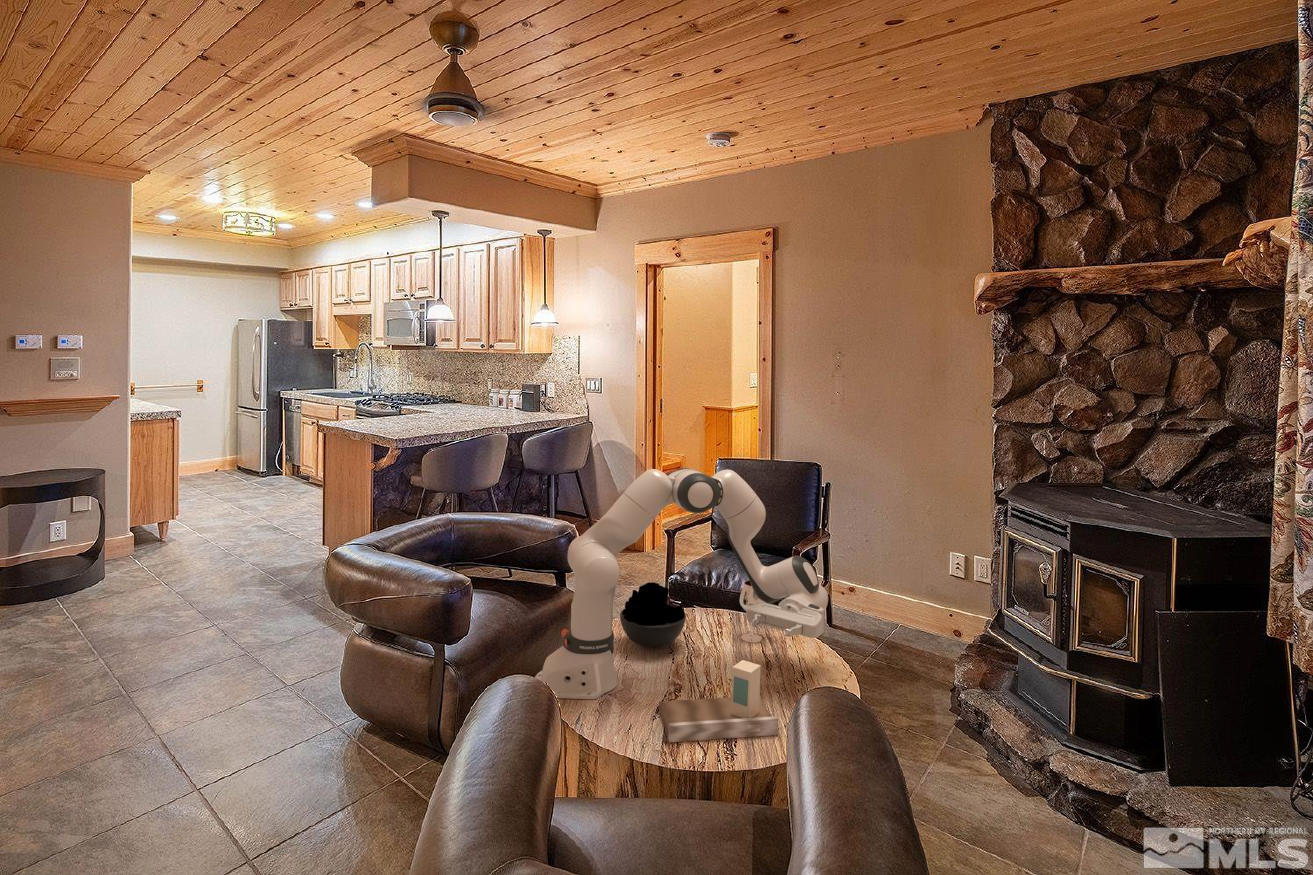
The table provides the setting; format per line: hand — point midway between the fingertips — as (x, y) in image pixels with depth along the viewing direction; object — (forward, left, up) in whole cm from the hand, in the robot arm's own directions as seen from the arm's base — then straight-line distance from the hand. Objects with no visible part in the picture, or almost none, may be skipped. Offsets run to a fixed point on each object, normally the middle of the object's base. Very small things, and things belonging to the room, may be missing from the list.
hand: (770, 628), depth 178 cm
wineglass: (+7, +39, -20) cm, 45 cm away
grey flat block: (-16, -8, -20) cm, 26 cm away
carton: (-9, -9, -18) cm, 21 cm away
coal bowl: (-25, +37, -20) cm, 49 cm away
